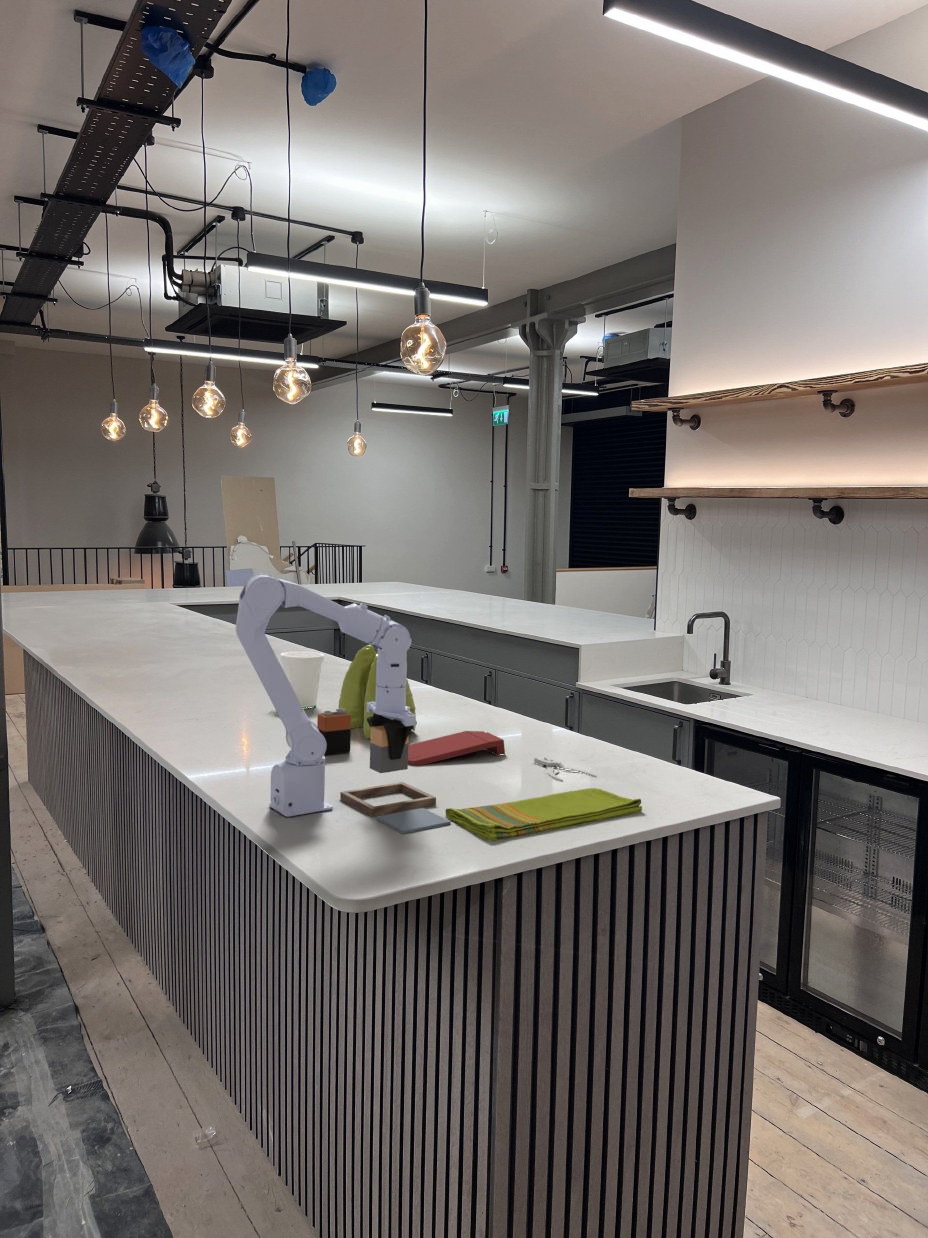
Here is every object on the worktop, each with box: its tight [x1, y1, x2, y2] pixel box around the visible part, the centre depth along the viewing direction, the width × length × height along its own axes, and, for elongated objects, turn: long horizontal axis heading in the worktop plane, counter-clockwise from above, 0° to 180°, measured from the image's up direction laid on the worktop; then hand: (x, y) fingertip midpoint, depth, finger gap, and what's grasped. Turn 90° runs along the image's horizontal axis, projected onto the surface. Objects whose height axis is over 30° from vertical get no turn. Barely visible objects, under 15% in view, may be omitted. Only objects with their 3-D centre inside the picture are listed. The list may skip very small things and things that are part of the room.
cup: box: [279, 651, 325, 708], centre depth 257 cm, size 12×12×15 cm
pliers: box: [533, 756, 597, 782], centre depth 197 cm, size 10×2×15 cm
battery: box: [316, 708, 352, 756], centre depth 205 cm, size 4×7×10 cm, turn 126°
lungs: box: [338, 644, 418, 739], centre depth 230 cm, size 25×16×24 cm, turn 33°
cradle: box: [339, 781, 437, 818], centre depth 169 cm, size 14×12×2 cm
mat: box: [375, 807, 452, 835], centre depth 159 cm, size 10×9×1 cm
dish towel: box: [445, 787, 643, 842], centre depth 165 cm, size 15×36×3 cm, turn 123°
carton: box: [408, 730, 506, 766], centre depth 207 cm, size 12×5×25 cm
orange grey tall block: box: [369, 726, 410, 774], centre depth 168 cm, size 6×4×8 cm, turn 126°
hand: (389, 756), depth 169 cm, fingers closed on orange grey tall block, 4 cm apart
